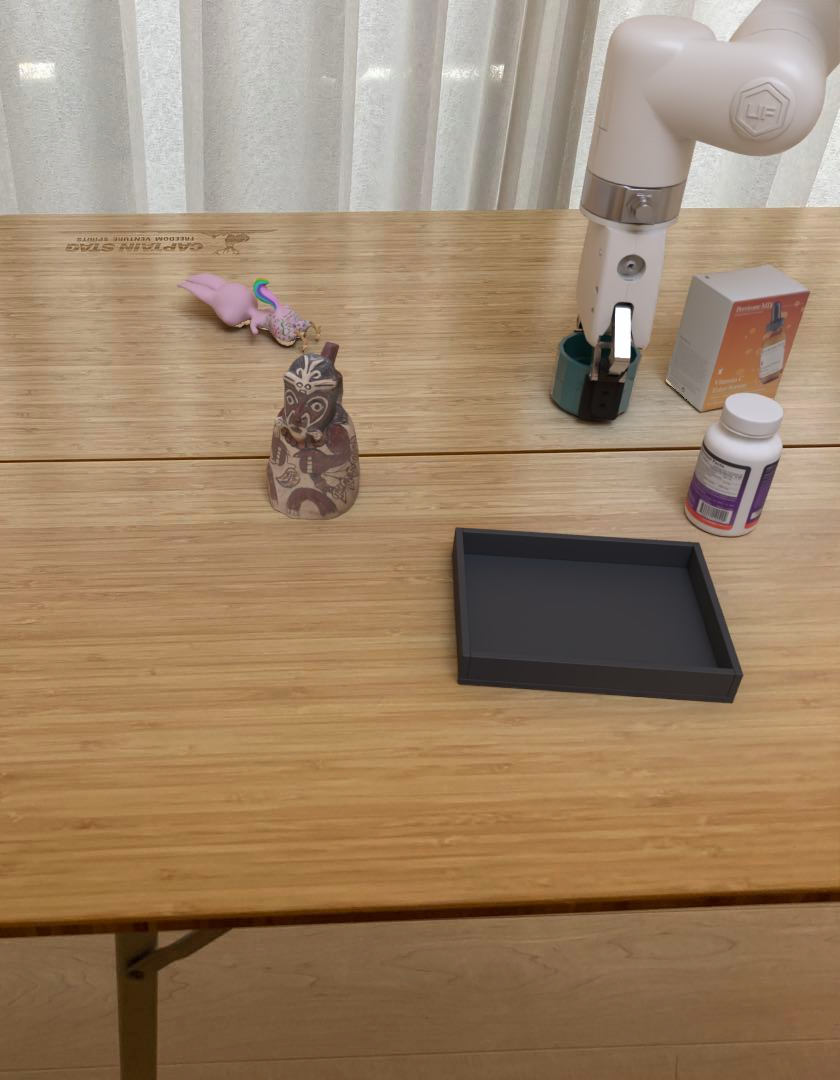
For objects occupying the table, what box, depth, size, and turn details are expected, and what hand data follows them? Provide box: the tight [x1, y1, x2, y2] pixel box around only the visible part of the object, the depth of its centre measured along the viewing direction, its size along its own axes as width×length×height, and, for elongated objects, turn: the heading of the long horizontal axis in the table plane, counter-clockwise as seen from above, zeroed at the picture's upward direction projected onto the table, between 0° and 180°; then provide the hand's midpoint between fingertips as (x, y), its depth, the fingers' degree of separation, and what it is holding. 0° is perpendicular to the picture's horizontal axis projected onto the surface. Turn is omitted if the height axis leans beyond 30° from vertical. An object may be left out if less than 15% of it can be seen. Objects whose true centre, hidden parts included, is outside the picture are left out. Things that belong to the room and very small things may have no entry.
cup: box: [549, 331, 643, 417], centre depth 95 cm, size 7×7×5 cm
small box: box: [665, 263, 811, 412], centre depth 95 cm, size 8×6×10 cm
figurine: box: [266, 340, 361, 521], centre depth 82 cm, size 7×7×12 cm
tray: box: [451, 526, 744, 704], centre depth 74 cm, size 17×13×2 cm
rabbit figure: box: [175, 272, 322, 346], centre depth 104 cm, size 6×6×15 cm
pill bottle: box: [684, 393, 785, 537], centre depth 81 cm, size 5×5×10 cm
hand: (590, 393), depth 96 cm, fingers closed on cup, 6 cm apart
